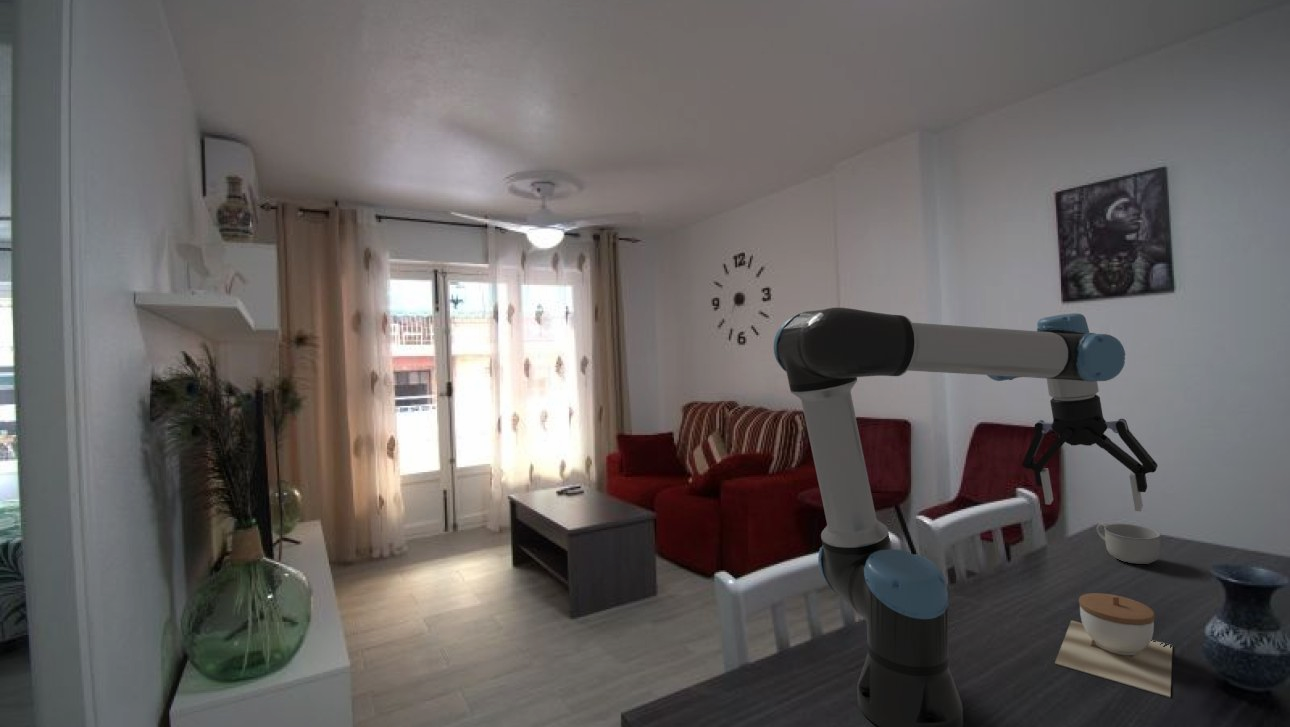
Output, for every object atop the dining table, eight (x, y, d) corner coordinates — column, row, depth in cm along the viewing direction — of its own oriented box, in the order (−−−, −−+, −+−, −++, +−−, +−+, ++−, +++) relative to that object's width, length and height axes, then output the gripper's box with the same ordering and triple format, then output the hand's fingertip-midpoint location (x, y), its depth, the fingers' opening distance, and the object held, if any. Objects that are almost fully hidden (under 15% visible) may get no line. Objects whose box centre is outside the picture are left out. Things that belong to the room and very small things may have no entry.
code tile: (1170, 697, 90) (1170, 696, 90) (1054, 663, 100) (1054, 662, 100) (1172, 646, 104) (1172, 644, 104) (1071, 621, 115) (1071, 620, 115)
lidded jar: (1170, 665, 98) (1170, 611, 98) (1100, 660, 100) (1099, 608, 100) (1131, 633, 109) (1130, 585, 108) (1067, 630, 111) (1067, 583, 111)
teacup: (1173, 568, 138) (1172, 535, 138) (1129, 570, 138) (1129, 537, 138) (1123, 548, 152) (1123, 518, 152) (1084, 549, 152) (1083, 520, 152)
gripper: (1165, 387, 100) (1183, 504, 101) (1005, 395, 118) (1022, 493, 119) (1160, 396, 95) (1179, 519, 96) (993, 403, 113) (1011, 506, 114)
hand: (1092, 505), depth 108 cm, fingers open, 13 cm apart
